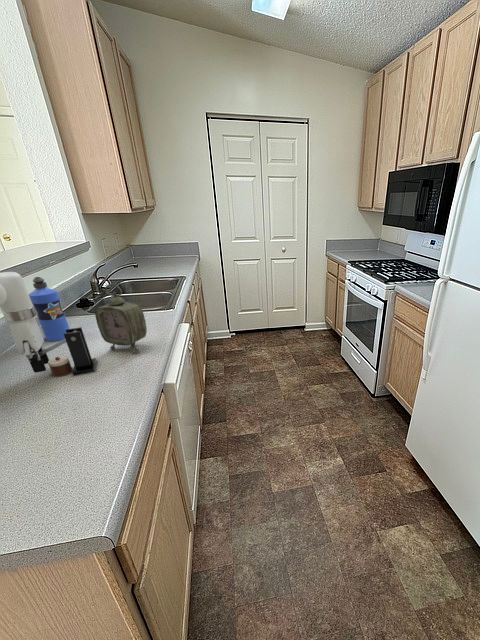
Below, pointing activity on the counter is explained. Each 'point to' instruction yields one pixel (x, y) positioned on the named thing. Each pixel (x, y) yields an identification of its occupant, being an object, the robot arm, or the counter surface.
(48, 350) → the lever
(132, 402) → the counter surface
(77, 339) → the black upright frame
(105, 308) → the tabletop clock
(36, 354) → the robot arm
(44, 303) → the blue bottle
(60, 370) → the cake
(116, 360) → the counter surface
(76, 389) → the counter surface
